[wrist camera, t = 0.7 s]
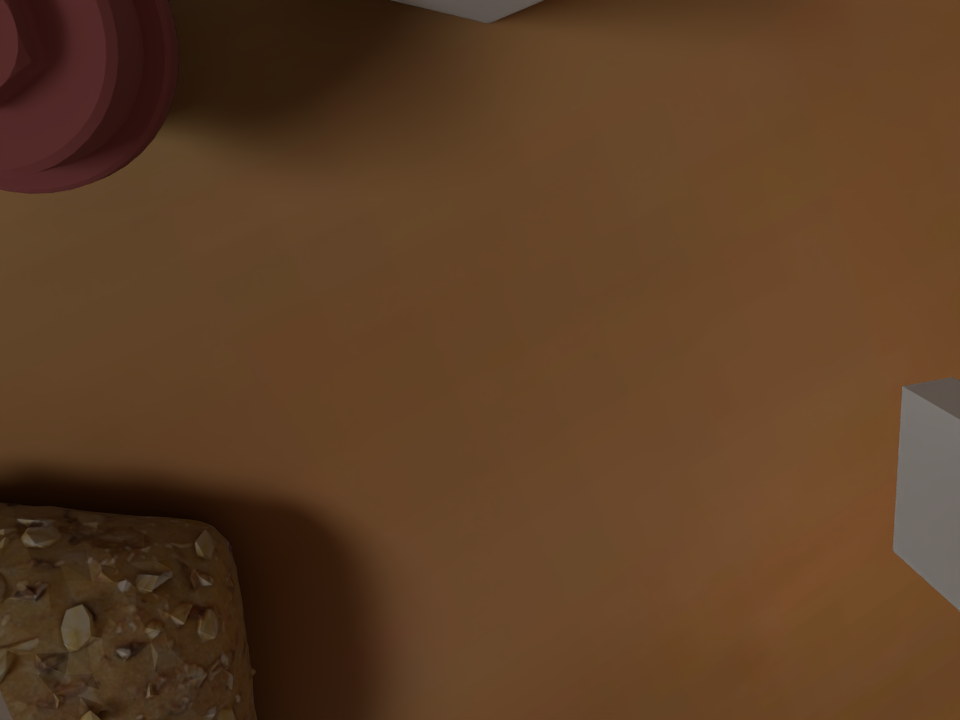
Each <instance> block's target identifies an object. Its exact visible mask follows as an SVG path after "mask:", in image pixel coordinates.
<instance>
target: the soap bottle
mask: <svg viewBox="0 0 960 720" xmlns="http://www.w3.org/2000/svg"><path fill="white" fill-rule="evenodd" d="M392 1H396V2H400V3H404V4H409V5H413V6H417V7H421V8H425V9H430V10H434V11H438V12H442V13H446V14H450V15H455V16H459V17H463V18H467V19H471V20H476V21H480V22H484V23H492V22H494V21H497V20H499V19H501V18H504V17H506V16H508V15H511V14H513V13H516V12H518V11H520V10H523V9H525V8H527V7H530V6H532V5H534V4H537V3H539V2H541V1H544V0H392Z"/></svg>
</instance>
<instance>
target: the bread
mask: <svg viewBox="0 0 960 720" xmlns="http://www.w3.org/2000/svg"><path fill="white" fill-rule="evenodd" d="M255 673H256V671H255V670H254V669H253V668H252V667H251V664H250V657H249V646H248V643H247V637H246V628H245V619H244V610H243V603H242V597H241V591H240V586H239V581H238V573H237V568H236V565H235V562H234V559H233V555H232V547H231V544H230V543H229V542H228V541H227V540H226V539H225V538H224V536H223V535H222V534H221V533H220V532H219V531H218V530H217V529H216V528H215V527H214V526H212V525H209V524H207V523H204V522H202V521H196V520H190V519H179V518H169V517H156V516H134V515H123V514H112V513H101V512H91V511H82V510H75V509H68V508H61V507H55V506H28V505H21V504H17V503H10V504H7V503H0V692H1V694H2V696H3V699H4V701H5V703H6V706H7V708H8V711H9V713H10V715H11V718H12V720H258V718H257V715H256V711H255V706H254V695H253V675H254V674H255Z"/></svg>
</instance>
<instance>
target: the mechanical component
mask: <svg viewBox="0 0 960 720" xmlns="http://www.w3.org/2000/svg"><path fill="white" fill-rule="evenodd" d="M178 67H179V52H178V38H177V33H176V27H175V22H174V17H173V14H172V11H171V8H170V5H169V2H168V0H0V190H4V191H10V192H20V193H29V194H32V193H54V192H60V191H66V190H71V189H75V188H78V187H81V186H84V185H87V184H90V183H93V182H95V181H98V180H100V179H102V178H105V177H107V176H110V175H111V174H113V173H115V172H116V171H118V170H120V169H121V168H123V167H125V166H126V165H128V164H129V163H130V162H131V161H132V160H134V159H135V158H136V157H137V156H138V155H140V154H141V153H142V152H143V151H144V149H145V148H146V147H147V146H148V145H149V144H150V143H151V141H152V140H153V139H154V138H155V136H156V134H157V133H158V131H159V130H160V128H161V126H162V125H163V123H164V121H165V119H166V117H167V114H168V112H169V109H170V107H171V105H172V102H173V98H174V93H175V89H176V85H177V78H178Z"/></svg>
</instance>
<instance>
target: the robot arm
mask: <svg viewBox="0 0 960 720" xmlns="http://www.w3.org/2000/svg"><path fill="white" fill-rule="evenodd" d="M893 551H894V552H895V553H896V554H897V555H898V556H899V557H900V558H902V559H903V560H904V561H905V562H906V563H907V564H908V565H909V566H910V567H912V568H913V569H914V570H915V571H916V572H917V573H918V574H919V575H920V576H921V577H923V578H924V579H925V580H926V581H927V582H928V583H929V584H930V585H931V586H933V587H934V588H935V589H936V590H937V591H938V592H939V593H940V594H941V595H943V596H944V597H945V598H946V599H947V600H948V601H949V602H950V603H951V604H952V605H954V606H955V607H956V608H957V609H958V610H959V611H960V381H959V380H957V379H955V378H954V377H951V378H946V379H940V380H935V381H929V382H923V383H918V384H912V385H907V386H903V387H902V404H901V421H900V438H899V455H898V472H897V489H896V506H895V524H894V541H893ZM0 720H12V718H11V715H10V713H9V711H8V708H7V706H6V703H5V701H4V699H3V696H2V694H1V692H0Z"/></svg>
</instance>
